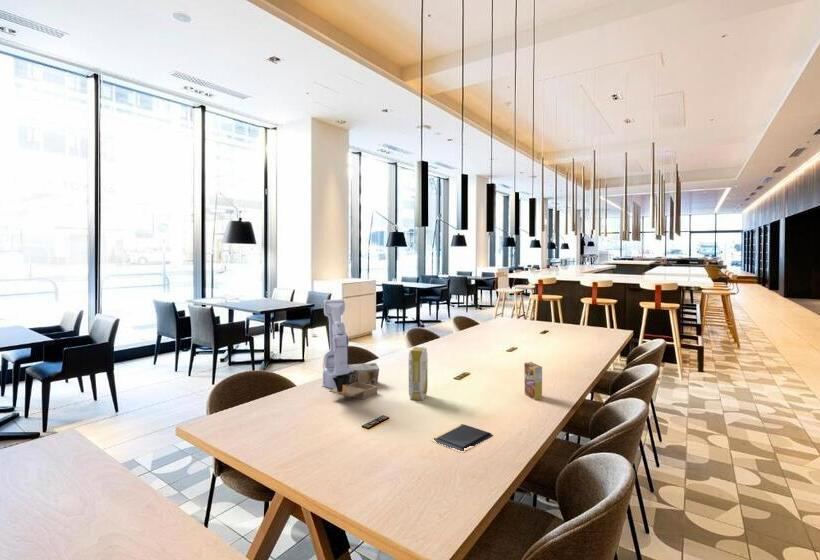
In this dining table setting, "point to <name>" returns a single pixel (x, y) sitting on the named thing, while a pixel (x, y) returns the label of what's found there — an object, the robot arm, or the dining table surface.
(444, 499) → the dining table surface
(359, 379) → the coffee box
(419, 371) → the juice carton
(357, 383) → the carton
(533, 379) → the candy box
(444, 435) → the wallet
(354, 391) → the lid
